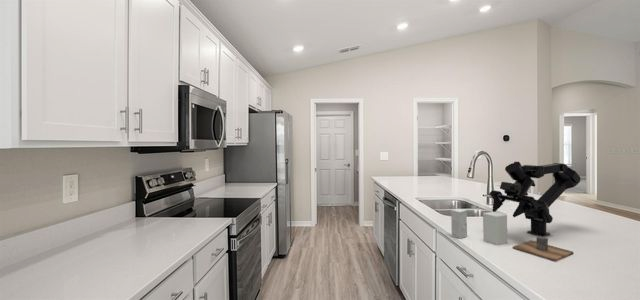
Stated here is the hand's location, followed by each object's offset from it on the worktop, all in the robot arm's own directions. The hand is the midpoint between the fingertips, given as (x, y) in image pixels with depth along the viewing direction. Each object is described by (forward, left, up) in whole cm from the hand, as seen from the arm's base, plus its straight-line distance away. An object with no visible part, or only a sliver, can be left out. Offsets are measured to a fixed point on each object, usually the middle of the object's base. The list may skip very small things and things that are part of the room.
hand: (503, 213), depth 118 cm
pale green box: (+5, -1, -11) cm, 13 cm away
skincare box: (+12, -13, -12) cm, 21 cm away
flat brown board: (0, +14, -11) cm, 18 cm away
